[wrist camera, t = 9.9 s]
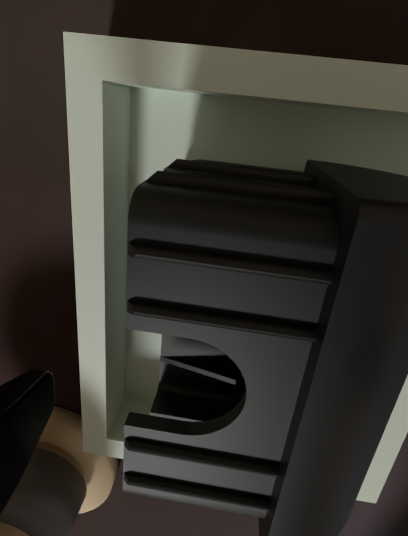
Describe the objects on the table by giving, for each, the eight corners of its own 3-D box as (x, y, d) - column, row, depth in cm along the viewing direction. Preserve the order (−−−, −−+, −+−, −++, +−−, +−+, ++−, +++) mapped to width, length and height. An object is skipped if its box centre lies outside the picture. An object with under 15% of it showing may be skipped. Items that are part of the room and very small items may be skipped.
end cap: (325, 401, 16) (375, 587, 10) (166, 375, 16) (115, 536, 10) (398, 167, 12) (565, 226, 6) (183, 141, 12) (116, 170, 6)
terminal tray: (486, 88, 11) (564, 80, 8) (355, 440, 17) (375, 503, 14) (106, 50, 12) (63, 31, 9) (109, 400, 18) (83, 452, 15)
